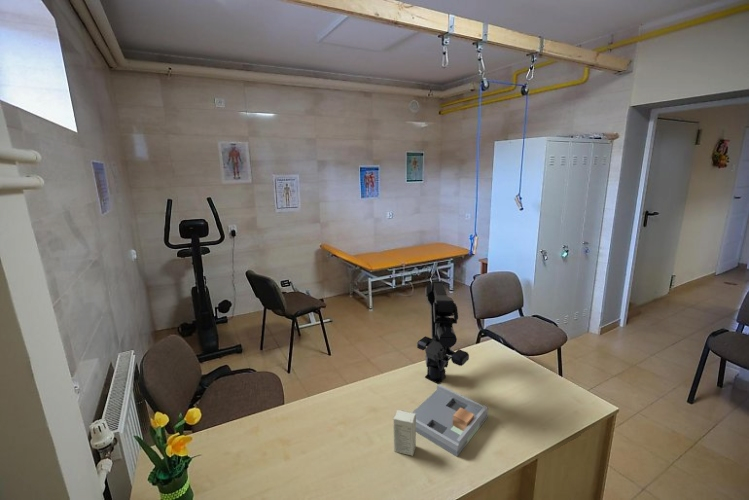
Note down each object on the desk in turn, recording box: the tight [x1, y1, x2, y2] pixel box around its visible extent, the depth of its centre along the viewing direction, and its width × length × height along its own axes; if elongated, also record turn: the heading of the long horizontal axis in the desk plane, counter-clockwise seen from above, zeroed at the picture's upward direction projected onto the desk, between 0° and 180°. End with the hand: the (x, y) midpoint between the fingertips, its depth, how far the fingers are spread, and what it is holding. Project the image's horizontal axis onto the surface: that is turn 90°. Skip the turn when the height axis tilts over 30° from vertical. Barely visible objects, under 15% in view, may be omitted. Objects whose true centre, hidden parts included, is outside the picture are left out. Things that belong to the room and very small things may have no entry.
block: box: [453, 407, 474, 431], centre depth 115 cm, size 5×5×4 cm
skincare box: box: [392, 409, 417, 457], centre depth 107 cm, size 6×4×12 cm
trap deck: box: [411, 383, 489, 457], centre depth 119 cm, size 20×22×5 cm
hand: (441, 370), depth 128 cm, fingers closed
